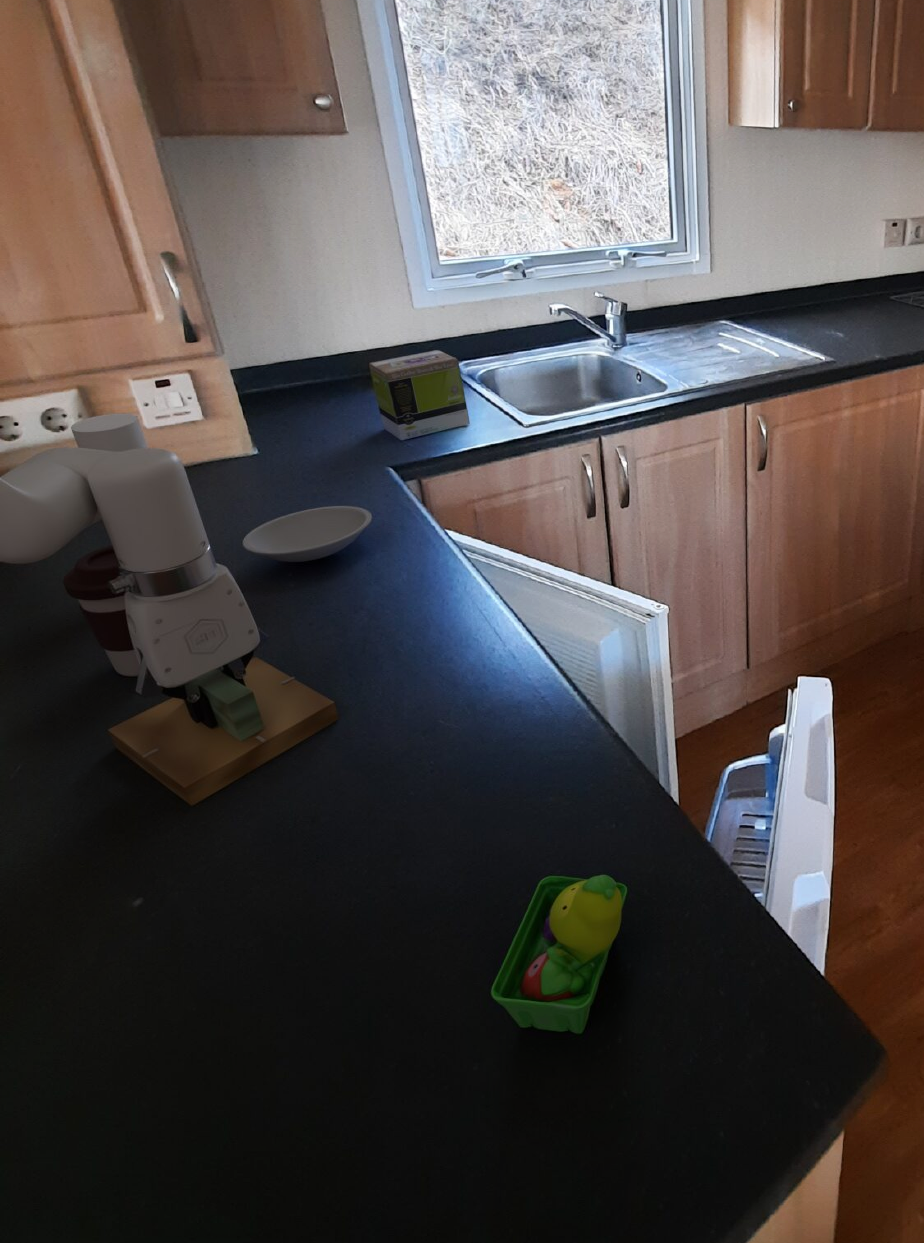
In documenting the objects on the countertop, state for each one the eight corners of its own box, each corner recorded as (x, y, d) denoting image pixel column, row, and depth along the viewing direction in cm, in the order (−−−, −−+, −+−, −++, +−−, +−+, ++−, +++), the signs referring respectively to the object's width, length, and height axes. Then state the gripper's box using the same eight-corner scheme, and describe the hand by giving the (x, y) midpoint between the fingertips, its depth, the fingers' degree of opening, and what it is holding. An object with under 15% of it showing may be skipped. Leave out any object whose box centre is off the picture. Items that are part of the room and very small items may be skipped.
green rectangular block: (265, 728, 93) (252, 689, 91) (240, 741, 91) (227, 702, 89) (207, 690, 99) (193, 652, 96) (183, 702, 97) (168, 664, 95)
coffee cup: (83, 673, 105) (37, 567, 99) (162, 631, 114) (124, 531, 107) (138, 693, 102) (94, 584, 96) (215, 648, 111) (180, 545, 104)
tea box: (451, 413, 191) (439, 348, 184) (470, 425, 184) (459, 358, 178) (382, 429, 182) (367, 360, 175) (400, 442, 175) (385, 371, 169)
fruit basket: (548, 914, 76) (533, 820, 71) (647, 924, 75) (638, 829, 70) (495, 1041, 65) (473, 942, 60) (609, 1054, 65) (596, 954, 60)
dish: (361, 524, 142) (354, 496, 140) (391, 556, 133) (385, 527, 130) (241, 557, 132) (232, 528, 130) (264, 595, 122) (255, 564, 120)
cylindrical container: (149, 604, 120) (85, 436, 108) (125, 589, 123) (60, 424, 112) (203, 582, 125) (147, 420, 114) (178, 569, 128) (122, 409, 117)
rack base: (191, 807, 86) (183, 787, 85) (113, 747, 94) (105, 728, 93) (340, 719, 99) (335, 700, 97) (261, 672, 106) (255, 655, 105)
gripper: (96, 618, 79) (160, 771, 87) (272, 548, 91) (313, 688, 99) (60, 594, 82) (125, 743, 91) (233, 530, 95) (276, 666, 103)
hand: (223, 713), depth 95 cm, fingers closed on green rectangular block, 2 cm apart
